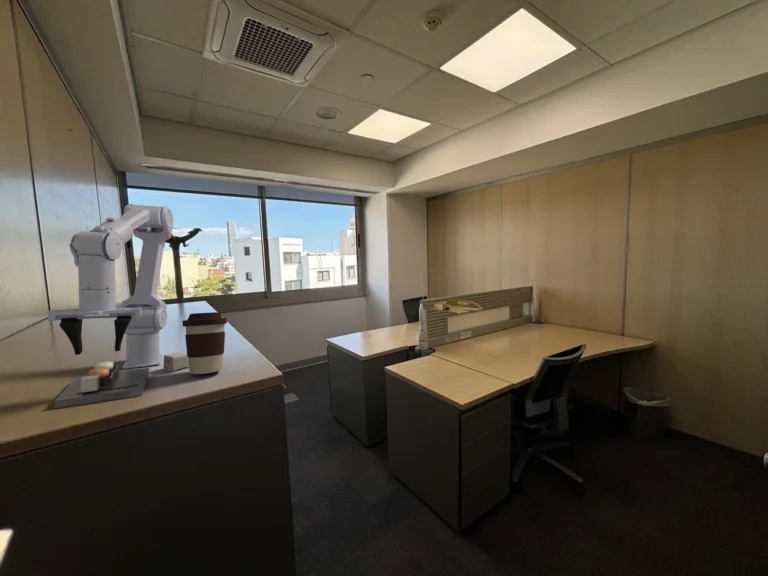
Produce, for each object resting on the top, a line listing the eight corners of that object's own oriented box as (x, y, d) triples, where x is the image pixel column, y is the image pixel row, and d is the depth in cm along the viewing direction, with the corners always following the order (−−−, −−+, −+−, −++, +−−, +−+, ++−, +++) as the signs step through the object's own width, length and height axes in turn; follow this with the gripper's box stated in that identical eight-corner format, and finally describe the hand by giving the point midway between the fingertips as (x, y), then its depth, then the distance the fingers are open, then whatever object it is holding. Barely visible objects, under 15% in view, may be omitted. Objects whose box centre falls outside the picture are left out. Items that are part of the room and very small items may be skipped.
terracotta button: (91, 375, 67) (90, 369, 67) (110, 373, 69) (110, 366, 69) (87, 380, 65) (87, 373, 65) (107, 378, 66) (107, 371, 66)
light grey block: (83, 389, 63) (83, 376, 63) (99, 387, 64) (99, 374, 64) (80, 392, 61) (80, 379, 61) (97, 390, 62) (96, 377, 62)
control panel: (77, 382, 71) (77, 369, 70) (148, 373, 78) (148, 362, 78) (54, 408, 58) (54, 393, 58) (142, 395, 65) (142, 381, 65)
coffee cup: (194, 377, 72) (193, 312, 73) (176, 374, 78) (175, 314, 79) (235, 369, 80) (234, 311, 81) (216, 367, 86) (215, 313, 87)
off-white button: (96, 369, 72) (96, 362, 72) (114, 367, 73) (114, 360, 73) (93, 373, 69) (92, 366, 69) (112, 371, 71) (111, 364, 71)
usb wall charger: (163, 369, 81) (163, 354, 81) (189, 363, 88) (189, 349, 87) (173, 372, 80) (173, 357, 79) (198, 365, 86) (198, 351, 86)
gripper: (41, 290, 58) (43, 361, 59) (138, 290, 66) (139, 352, 67) (54, 287, 64) (55, 352, 65) (142, 287, 72) (142, 345, 73)
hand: (98, 351), depth 67 cm, fingers open, 6 cm apart
